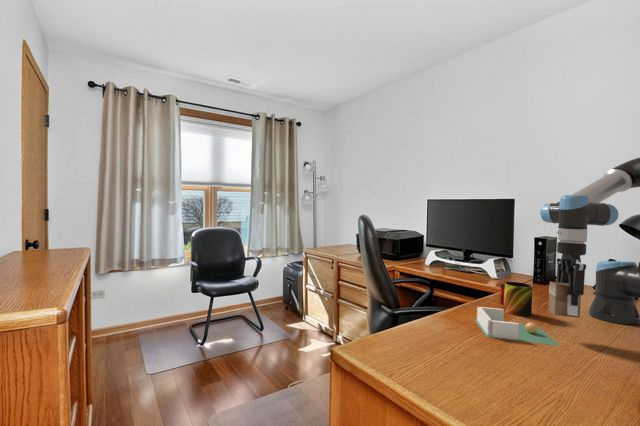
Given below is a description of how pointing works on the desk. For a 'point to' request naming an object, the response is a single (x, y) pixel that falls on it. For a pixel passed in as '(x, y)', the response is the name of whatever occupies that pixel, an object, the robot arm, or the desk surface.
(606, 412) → the desk surface
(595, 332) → the desk surface
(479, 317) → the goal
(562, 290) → the player block
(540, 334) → the mat
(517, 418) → the desk surface
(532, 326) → the ball
